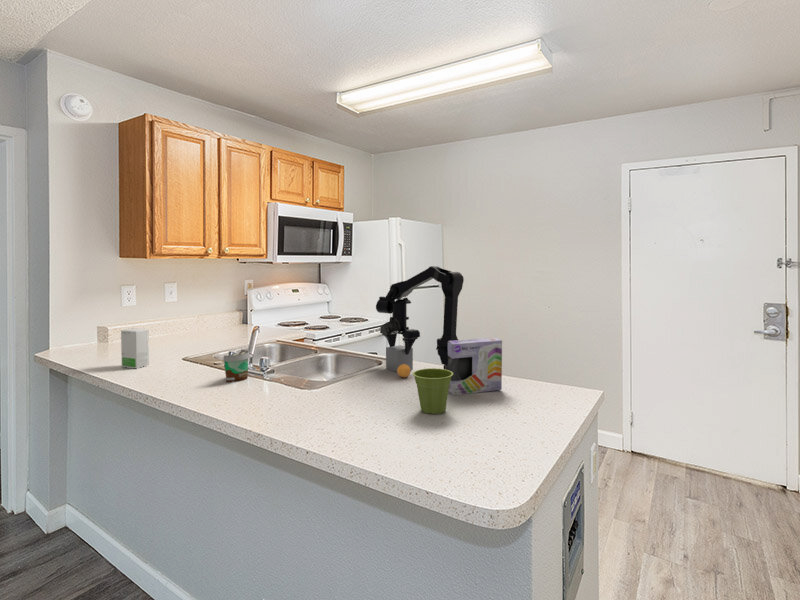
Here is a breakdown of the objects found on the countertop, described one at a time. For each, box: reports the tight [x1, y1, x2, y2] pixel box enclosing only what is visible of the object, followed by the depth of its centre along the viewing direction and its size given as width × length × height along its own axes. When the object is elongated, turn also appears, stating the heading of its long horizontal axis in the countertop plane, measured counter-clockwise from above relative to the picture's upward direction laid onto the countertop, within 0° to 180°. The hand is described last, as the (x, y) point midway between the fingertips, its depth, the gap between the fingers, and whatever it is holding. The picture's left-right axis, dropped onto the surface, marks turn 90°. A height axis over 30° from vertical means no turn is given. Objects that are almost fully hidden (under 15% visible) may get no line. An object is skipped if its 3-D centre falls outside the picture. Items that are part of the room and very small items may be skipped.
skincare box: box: [120, 327, 150, 369], centre depth 185 cm, size 8×7×16 cm
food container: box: [222, 349, 251, 383], centre depth 165 cm, size 12×6×10 cm, turn 168°
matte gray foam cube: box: [385, 344, 414, 373], centre depth 181 cm, size 8×8×9 cm
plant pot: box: [412, 367, 453, 415], centre depth 130 cm, size 12×12×11 cm
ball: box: [396, 364, 411, 378], centre depth 168 cm, size 5×5×5 cm
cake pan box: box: [447, 337, 503, 396], centre depth 149 cm, size 19×5×18 cm, turn 105°
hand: (399, 352), depth 181 cm, fingers open, 9 cm apart
